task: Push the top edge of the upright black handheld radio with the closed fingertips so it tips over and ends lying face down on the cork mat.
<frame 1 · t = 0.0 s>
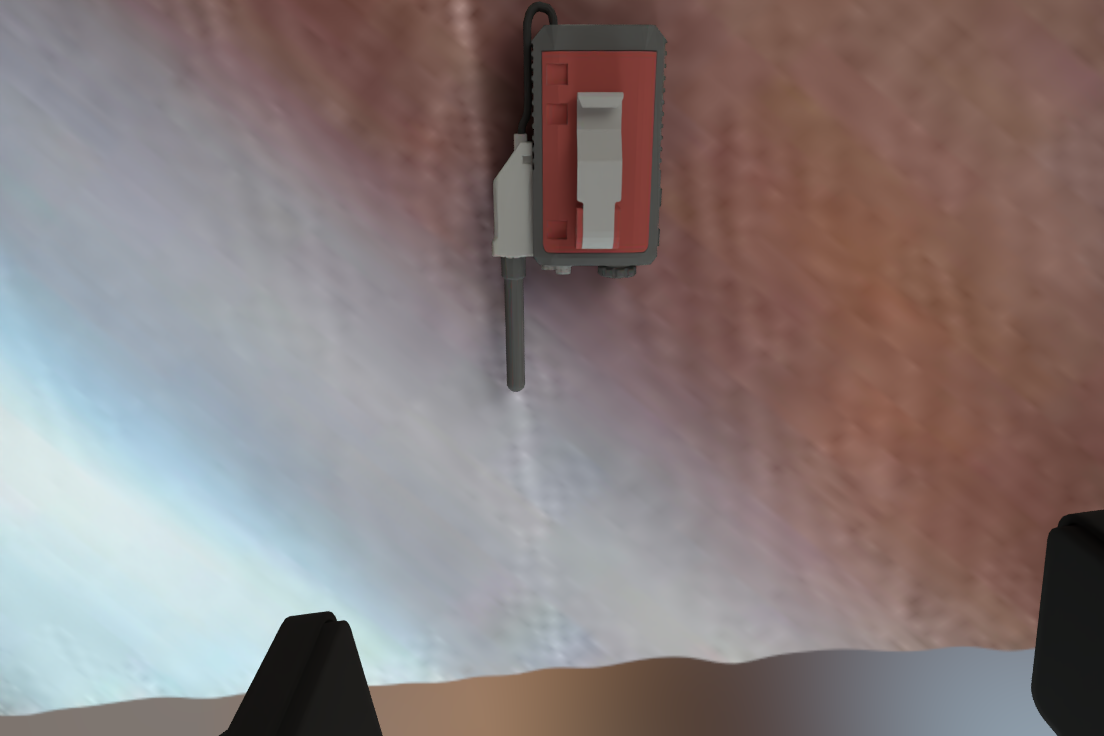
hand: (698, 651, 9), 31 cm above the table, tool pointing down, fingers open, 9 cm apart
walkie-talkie: (573, 210, 38), on the table
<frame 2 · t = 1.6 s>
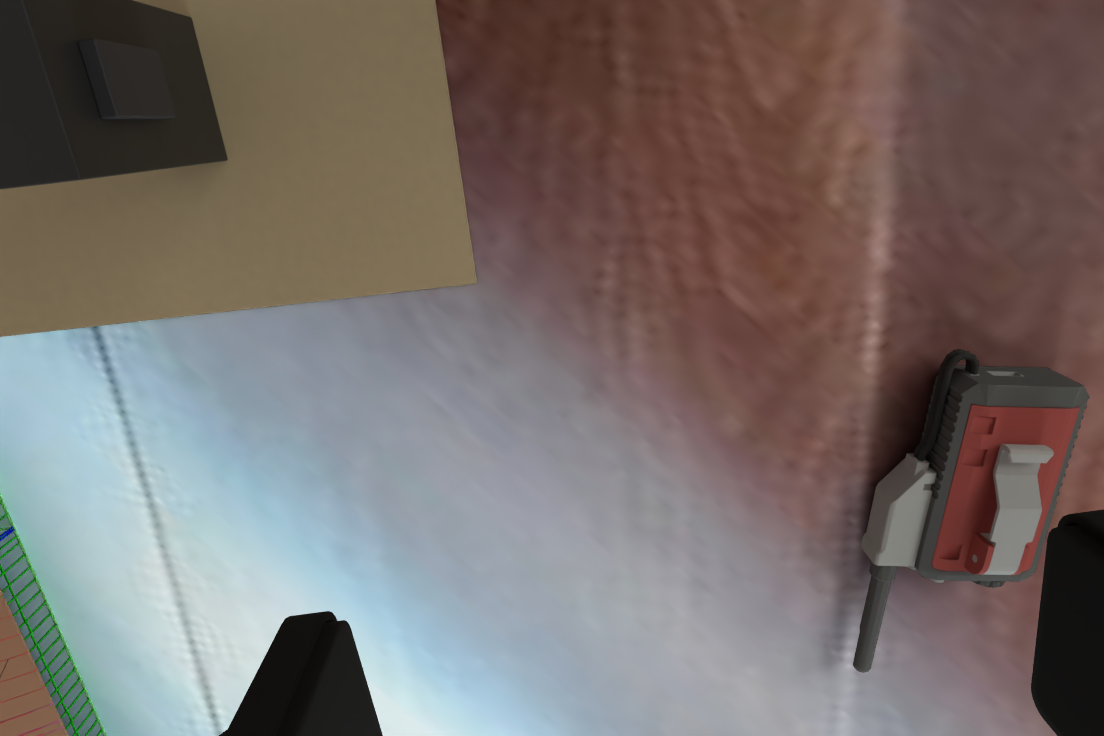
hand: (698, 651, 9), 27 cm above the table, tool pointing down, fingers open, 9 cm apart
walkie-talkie: (938, 510, 40), on the table
cork mat: (159, 97, 32), on the table
radio: (178, 94, 31), resting on cork mat
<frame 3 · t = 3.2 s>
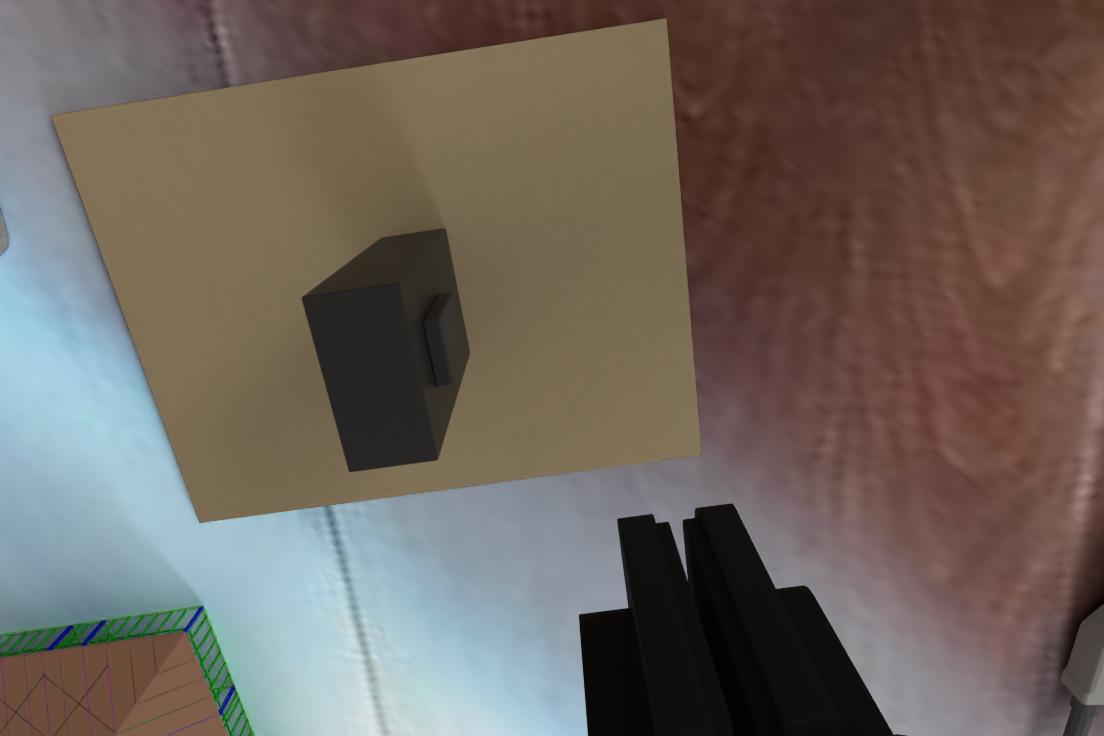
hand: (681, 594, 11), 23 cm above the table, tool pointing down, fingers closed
cork mat: (406, 299, 33), on the table
radio: (426, 297, 32), resting on cork mat
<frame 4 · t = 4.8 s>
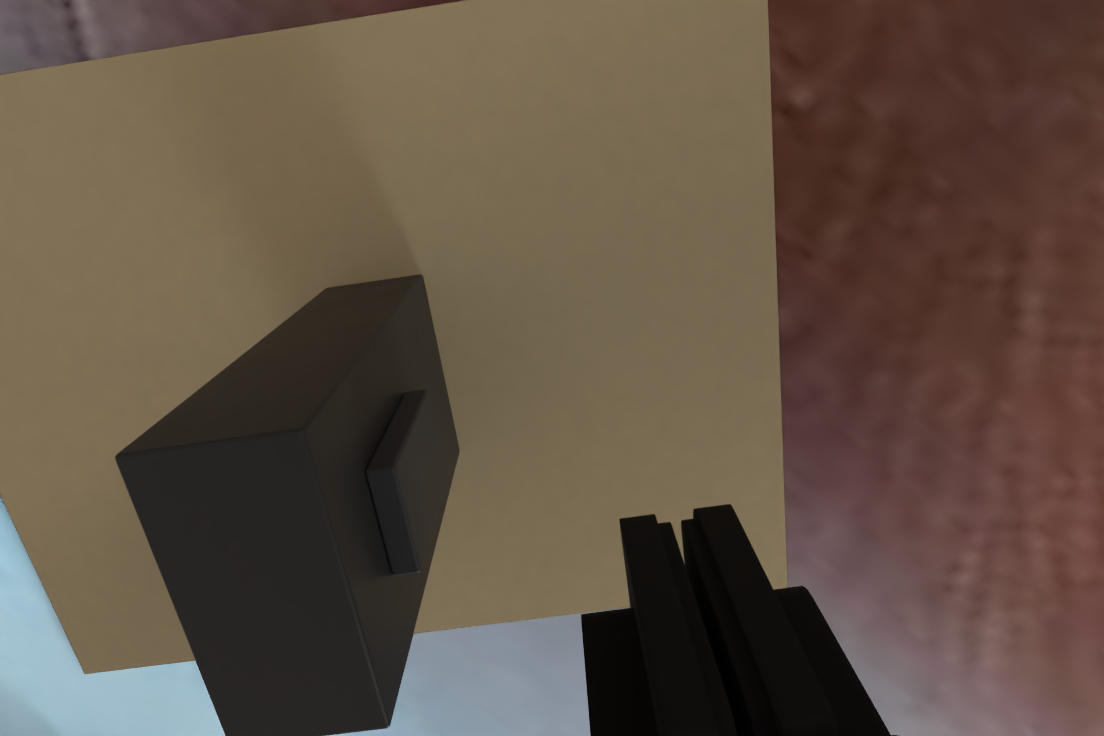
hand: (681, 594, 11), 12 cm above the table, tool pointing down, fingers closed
cork mat: (366, 374, 22), on the table
radio: (395, 373, 22), resting on cork mat
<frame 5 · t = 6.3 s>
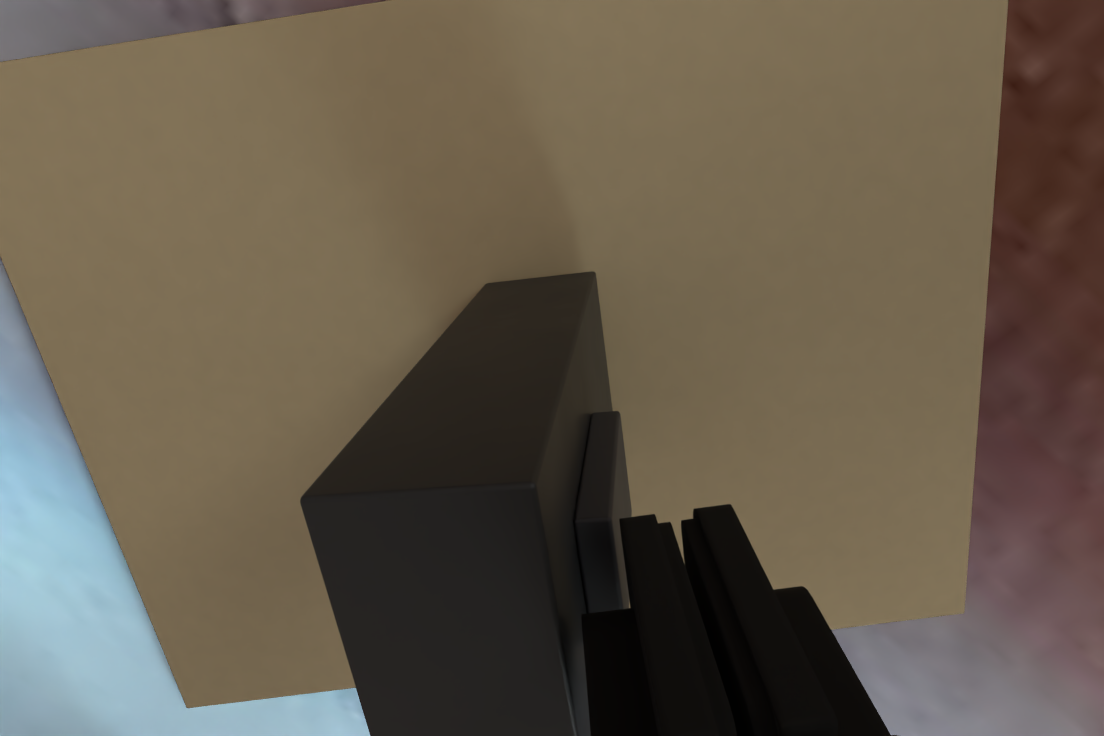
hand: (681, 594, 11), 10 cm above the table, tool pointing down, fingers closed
cork mat: (521, 379, 20), on the table
radio: (555, 381, 20), point 1 cm above the table, tilted 8°, touching cork mat, gripper
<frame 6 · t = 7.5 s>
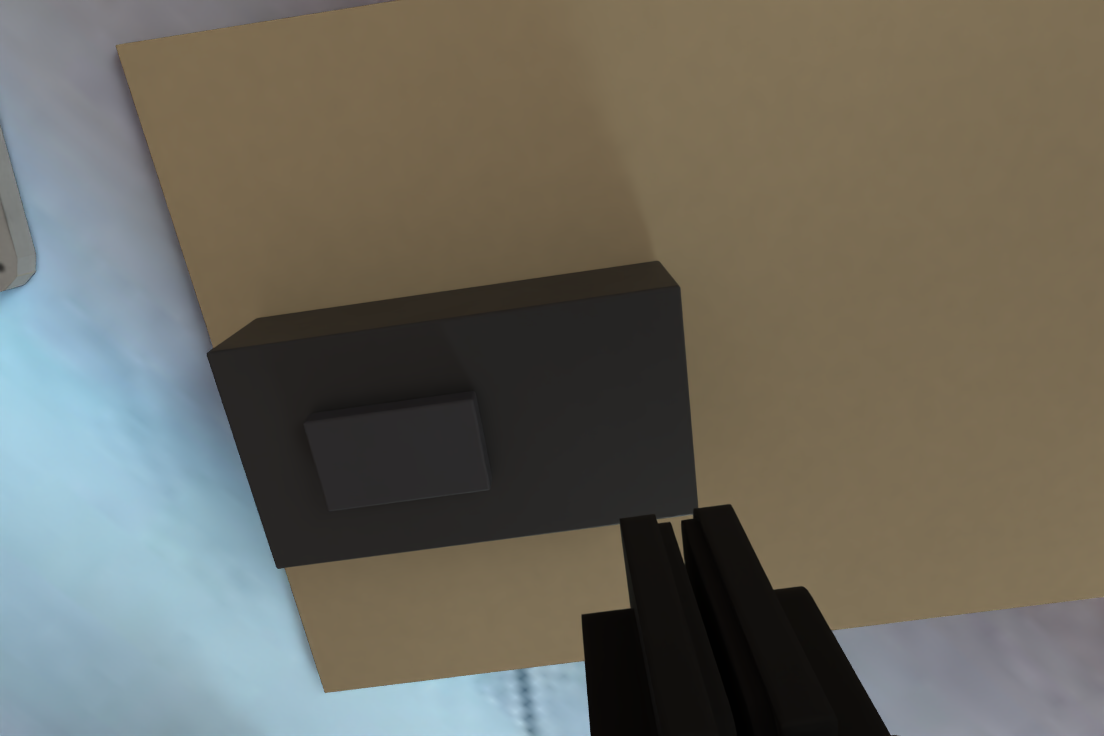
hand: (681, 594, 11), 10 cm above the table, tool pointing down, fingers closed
cork mat: (686, 357, 20), on the table
radio: (679, 384, 18), point 2 cm above the table, tilted 90°, touching cork mat
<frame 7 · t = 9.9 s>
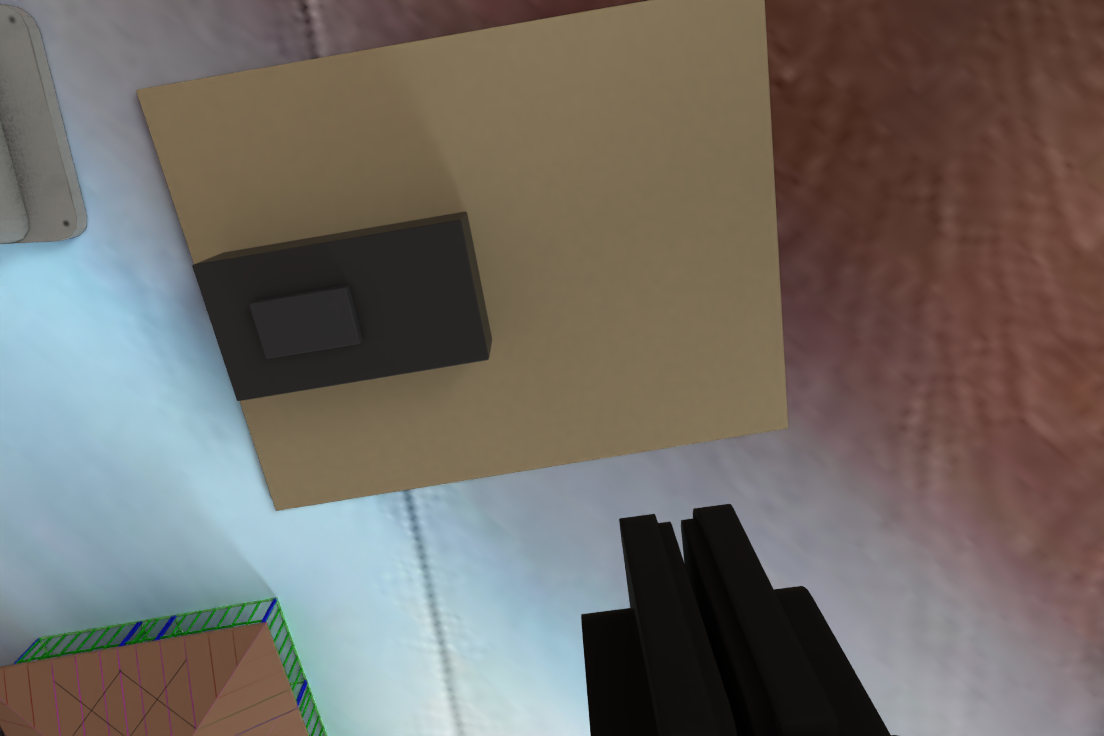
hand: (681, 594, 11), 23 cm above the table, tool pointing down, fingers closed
cork mat: (492, 273, 32), on the table
radio: (478, 284, 30), point 2 cm above the table, tilted 90°, touching cork mat
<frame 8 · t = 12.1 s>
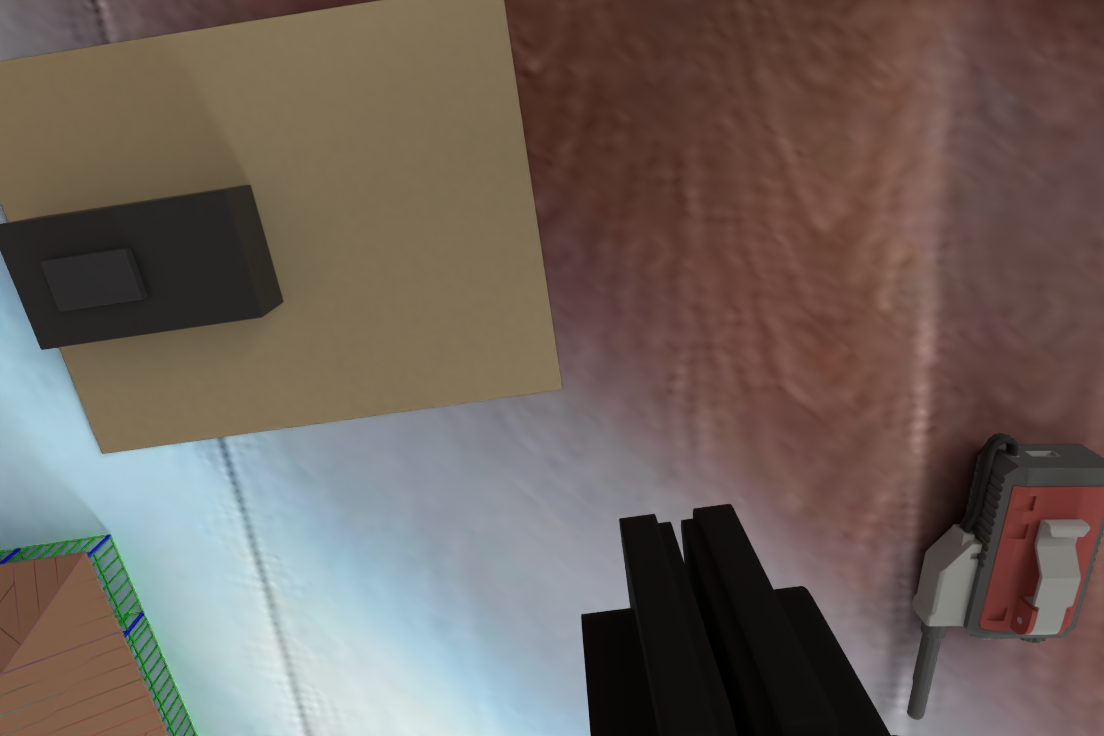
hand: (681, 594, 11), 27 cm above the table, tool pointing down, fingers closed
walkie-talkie: (982, 570, 43), on the table
cork mat: (282, 241, 36), on the table
radio: (256, 250, 34), point 2 cm above the table, tilted 90°, touching cork mat
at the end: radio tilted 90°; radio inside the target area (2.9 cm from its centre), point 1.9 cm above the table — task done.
